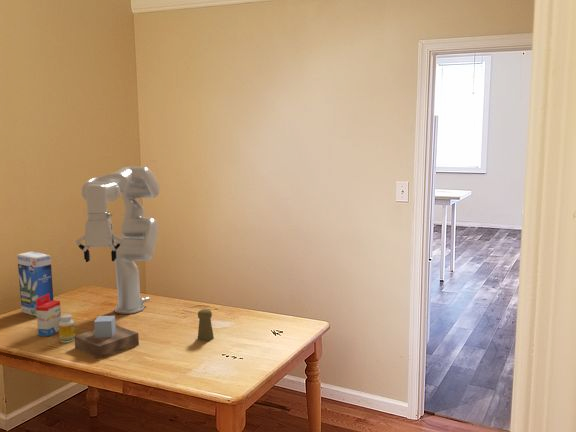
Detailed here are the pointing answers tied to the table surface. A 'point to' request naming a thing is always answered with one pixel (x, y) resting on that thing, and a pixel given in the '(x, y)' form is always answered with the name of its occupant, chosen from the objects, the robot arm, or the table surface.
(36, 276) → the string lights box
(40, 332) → the ink box
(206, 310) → the cork
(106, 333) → the blue cube
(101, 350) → the walnut block
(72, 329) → the supplement bottle
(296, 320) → the table surface
